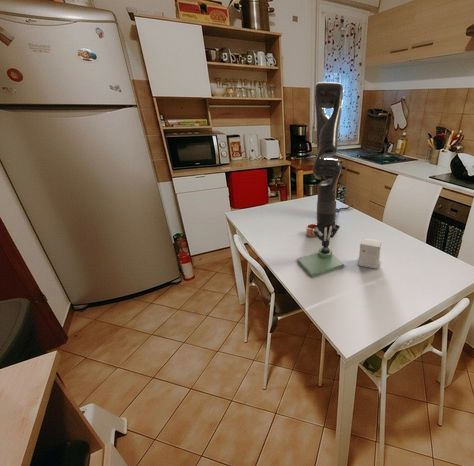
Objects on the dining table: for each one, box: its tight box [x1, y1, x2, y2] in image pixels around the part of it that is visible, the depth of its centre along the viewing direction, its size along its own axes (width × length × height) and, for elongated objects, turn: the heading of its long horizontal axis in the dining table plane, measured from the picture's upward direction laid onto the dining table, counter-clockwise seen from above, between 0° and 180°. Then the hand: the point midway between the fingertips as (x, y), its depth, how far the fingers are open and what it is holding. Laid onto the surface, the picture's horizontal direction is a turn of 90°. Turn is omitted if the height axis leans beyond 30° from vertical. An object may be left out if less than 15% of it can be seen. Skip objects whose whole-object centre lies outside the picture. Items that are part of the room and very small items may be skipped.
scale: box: [297, 247, 345, 278], centre depth 110 cm, size 15×13×3 cm
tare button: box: [321, 246, 330, 254], centre depth 114 cm, size 3×3×2 cm
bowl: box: [305, 223, 320, 238], centre depth 133 cm, size 6×6×4 cm
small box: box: [358, 237, 382, 270], centre depth 109 cm, size 8×6×10 cm
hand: (325, 246), depth 113 cm, fingers closed
